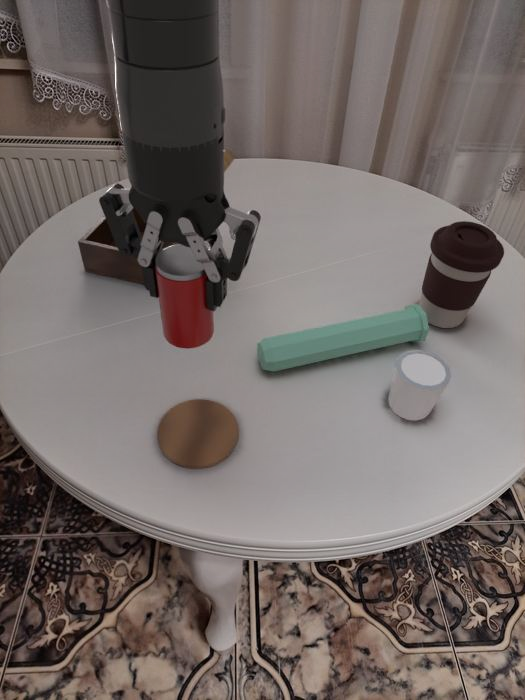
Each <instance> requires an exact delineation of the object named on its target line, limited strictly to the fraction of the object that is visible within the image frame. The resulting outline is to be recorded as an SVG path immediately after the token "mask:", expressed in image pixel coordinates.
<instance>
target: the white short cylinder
mask: <svg viewBox="0 0 525 700" xmlns="http://www.w3.org/2000/svg"><path fill="white" fill-rule="evenodd" d="M451 378H452V372H451V369H450V367H449V365H448V364H447V363H446V362H445V360H444V359H442V358H441V357H440V356H438V355H436V354H435V353H432V352H430V351H427V350H423V349H411V350H406V351H404V352H403V353H401V354H400V355H399V356H397V359H396V361H395V364H394V368H393V373H392V379H391V384H390V388H389V392H388V393H389V394H388V398H387V400H388V401H387V402H388V406H389V407H390V409H391V410H392V412H393V413H394V414H395V415H397V416H398V417H399V418H402V419H404V420H407V421H416V422H417V421H420V420H425V418H426V417H428V415H430V413H431V411H432V410H433V409H434V407H435V406H436V404H437V402H438V401H439V400H440V398H441V396H442V394H443V393H444V392H445V390H446V388H447V387H448V385H449V384H450V381H451Z"/></svg>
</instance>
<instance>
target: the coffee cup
mask: <svg viewBox="0 0 525 700" xmlns="http://www.w3.org/2000/svg"><path fill="white" fill-rule="evenodd" d="M429 247H430V251H431V253H430V255H429V257H428V262H427V266H426V269H425V273H424V277H423V281H422V284H421V294H420V298H419V302H418V304H419V305H420V307H421V308H422V309H423V310H424V312H425V313H426V315H427V320H428V324H430V325H432V326H434V327H437V328H441V329H453V328H455V327H459V326H460V325H461V324H462V323H463V322H464V321H465V319H466V317H467V315H468V313H469V312H470V309H472V307H473V306H474V305H475V303H476V302H477V300H478V299H479V296H480V295H481V293H482V292H483V290H484V288H485V286H486V284H487V282H488V281H489V279H490V277H491V274H492V271H493V270H495V269H496V268H498V267H499V265H500V264H501V262H502V260H503V258H504V255H505V249H504V246H503V244H502V243H501V241H500V240H499V239H498V237H497V236H496V234H495V232H494V231H493V230H491V229H490V228H489V227H487V226H485V225H483V224H482V223H481V224H480V223H478V222H473V221H466V220H464V221H455V222H452V223H450V224H448V225H445V226H442V227H440V228H438V229H436V230H435V231H434V232H433V234H432V237H431V239H430V244H429Z"/></svg>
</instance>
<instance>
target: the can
mask: <svg viewBox="0 0 525 700" xmlns="http://www.w3.org/2000/svg"><path fill="white" fill-rule="evenodd" d="M155 263H156V264H155V272H156V280H157V288H158V295H159V298H158V302H159V310H160V318H161V327H162V333H163V334H162V335H163V338H164V339H165V340H166V341H167V343H169V344H170V345H171V346H174V347H175V348H179V349H187V350H189V349H196V348H200V347H202V346H204V345H205V344H208V343H209V341H210V340H211V339H212V338H213V336H214V333H215V322H214V321H215V320H214V311H211V310H207V300H206V280H207V278H208V276H207V274H206V272H205V270H204V268H203V265H202V263H201V262H198V261H197V260H196V258H195V256H194V254H193V251H192V249H191V248H190V247H186V246H183V245H181V244H177V245H173V246H169V247H167V248H165V249H163V250H162V251H160V252H159V253H158V255H157V257H156V260H155Z"/></svg>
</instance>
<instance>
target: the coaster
mask: <svg viewBox="0 0 525 700" xmlns="http://www.w3.org/2000/svg"><path fill="white" fill-rule="evenodd" d="M239 432H240V429H239V423H238V421H237V418H236V416H235V415H234V413H233V412H232V411H231V410H230V409H229V408H228V407H226V406H225V405H223V404H221V403H220V402H217V401H214V400H210V399H203V398H202V399H201V398H199V399H198V398H197V399H189V400H187V401H183V402H180V403H178V404H177V405H175V406H173V407H172V408H170V409H169V410H168V411H167V412H166V413H164V415H163V417H162V418H161V420H160V422H159V424H158V426H157V433H156V435H157V436H156V438H157V444H158V446H159V449H160V451H161V453H162V454H163V455H164V457H165V458H167V460H169V461H170V462H171V463H173V464H175V465H177V466H180V467H183V468H187V469H197V470H198V469H206V468H210V467H213V466H216V465H218V464H220V463H222V462H223V461H225V460H226V459H227V458H229V456H230V455H231V454H232V452H233V451H234V450H235V449H236V446H237V444H238V442H239V436H240V434H239Z"/></svg>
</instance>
